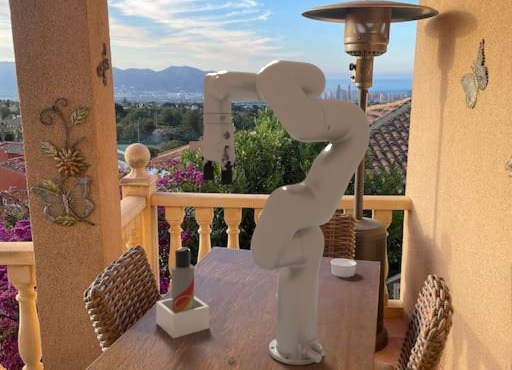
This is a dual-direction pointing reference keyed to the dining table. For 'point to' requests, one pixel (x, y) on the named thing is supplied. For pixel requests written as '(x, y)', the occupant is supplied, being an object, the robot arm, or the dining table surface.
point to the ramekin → (343, 267)
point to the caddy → (182, 318)
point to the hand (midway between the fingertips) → (217, 182)
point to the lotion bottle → (182, 282)
